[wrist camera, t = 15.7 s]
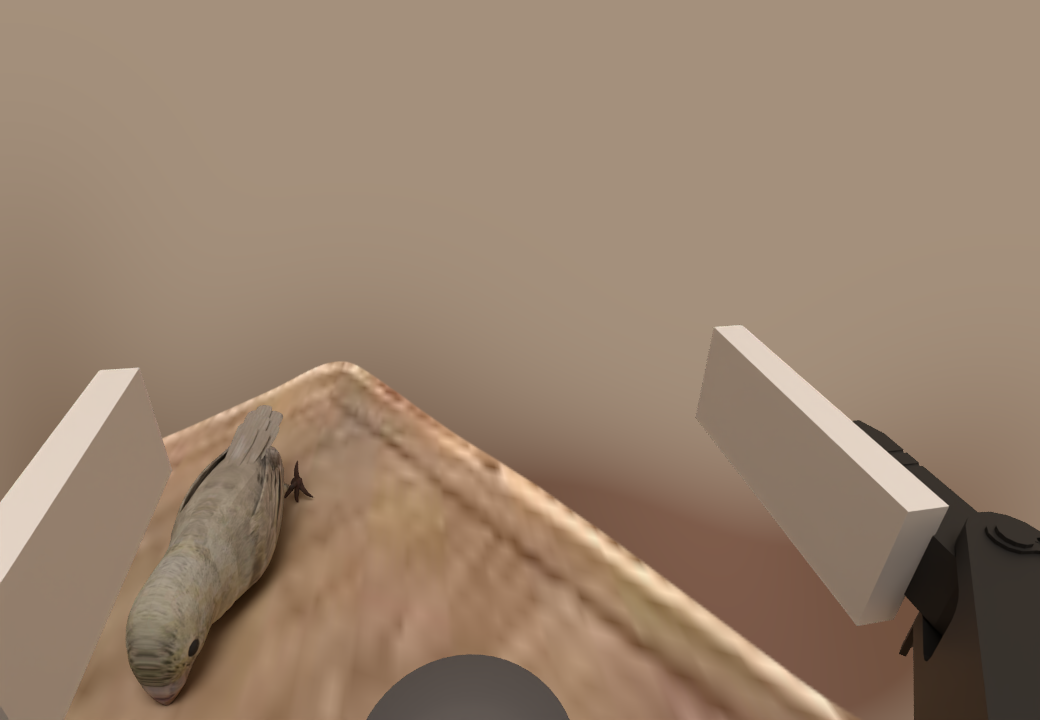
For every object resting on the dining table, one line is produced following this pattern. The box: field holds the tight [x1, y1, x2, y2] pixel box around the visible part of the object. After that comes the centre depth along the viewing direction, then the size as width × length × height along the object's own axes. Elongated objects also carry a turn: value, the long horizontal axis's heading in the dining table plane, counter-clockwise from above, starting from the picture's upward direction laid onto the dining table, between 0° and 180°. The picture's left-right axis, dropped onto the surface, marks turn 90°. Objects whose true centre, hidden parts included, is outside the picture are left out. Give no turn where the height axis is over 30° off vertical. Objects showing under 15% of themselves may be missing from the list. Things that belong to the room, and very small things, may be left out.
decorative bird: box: [126, 405, 314, 705], centre depth 36 cm, size 5×16×8 cm, turn 178°
